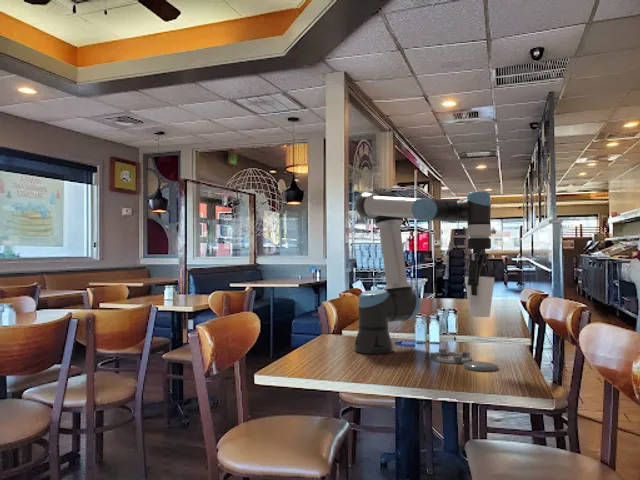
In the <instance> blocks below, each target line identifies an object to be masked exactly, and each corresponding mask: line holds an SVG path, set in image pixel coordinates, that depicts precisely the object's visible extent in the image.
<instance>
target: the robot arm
mask: <svg viewBox="0 0 640 480" xmlns="http://www.w3.org/2000/svg"><path fill="white" fill-rule="evenodd" d="M491 207H492V202H491V195H490V193H489V192H487V191H471V192H470V191H469V192H468V193H467V195H466V198H465V199H454V200H453V199H442V198H441V199H439V198H429V197H403V196H402V194H399V193H396V192H392V191H389V192H386V191H373V190H370V191H365V192H362V193H361V194H359V195H358V197H357V198H356V200H355V210H356V212H357V214H358V215H359V216H360V217H362V218H363V219H367V220H374V223H375V227H377V228H378V229H379V235H380V241H381V250H382V258H383V267H384V276H385V283H386V286H385V287H383V289H371V290H367V291H363V292H361V293H360V294H359V295H358V304H357V306H358V332H357V335H356V339H355V341H354V343H353V344H354V345H353V346H354V352H357V353H360V354H367V355H385V354H390V353H392V352H394V345H393V342H392V339H391V336H390V333H389V323H392V322H393V323H394V322H404V321H405V322H406V321H408V320H409V321H410V320H412V319H414V318H415V317H417V314H418V313H419V311H420V307H421V301H420V297H419V296H418V294H417V293H416V292H415V291H413V286H412V285H411V284H409V282H408V277H407V271H406V270H407V268H406V261H405V254H404V247H403V239H402V232H401V225H402V224H403V223H404V219H411V220H412V219H414V220H419V221H425V222H428V221H433V222H434V221H435V222H436V221H437V222H438V221H439V222H447V223H455V222H467V227H466V228H465V230H466V231H467V236H468V238H467V249H468V250H472V253H469V255H468V256H469V265H468V276H467V277H468V285H471V305H475V306H480V294H479V286H478V283H479V277H491V274H490V273H491V272H490V262H489V258H490V257H489V253H486V250H490V249H492V239H491V238H490V237H491V236H492V228H491V227H492V225H491V215H492V214H491V209H492V208H491Z"/></svg>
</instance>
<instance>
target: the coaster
mask: <svg viewBox="0 0 640 480" xmlns="http://www.w3.org/2000/svg"><path fill="white" fill-rule="evenodd" d="M462 366H463V367H462V368H464V369H466V370H468V371H474V372H479V373H481V372H482V373H483V372H485V373H487V372H488V373H489V372H490V373H491V372H495V371H498V369H499V368H498V367H499V366H498V364H495V363H492V362H487V361H479V360H478V361H477V360H476V361H475V360H474V361H472V360H471V361H468V362H465V363H462Z"/></svg>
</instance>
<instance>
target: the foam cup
mask: <svg viewBox="0 0 640 480" xmlns="http://www.w3.org/2000/svg"><path fill="white" fill-rule="evenodd" d="M468 277H469V276H465V277H464V285H465V288H466V289H465V290H466V296H467V303H468V308H469V309H468V311H469V314H470V315H469V316H470V317H475V318H489V317H490V316H491V309H492V301H493V294H494V286H495V277H494V276H490V277H480V276H479V283H478V286H479V294H480V306H475V305H471V285H468Z"/></svg>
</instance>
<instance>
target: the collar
mask: <svg viewBox="0 0 640 480" xmlns="http://www.w3.org/2000/svg"><path fill="white" fill-rule="evenodd" d="M439 356H453V359H447V358H440V357H439ZM428 358H429V359H430V360H432V361H434V362H438V363H445V364H464V363H465V362H471V361H472V356H471V355H470V351H466V350H463V351H462V352H455V351H447V349H446V348H439V349H438V351H434V352H430V354H429V356H428Z"/></svg>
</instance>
